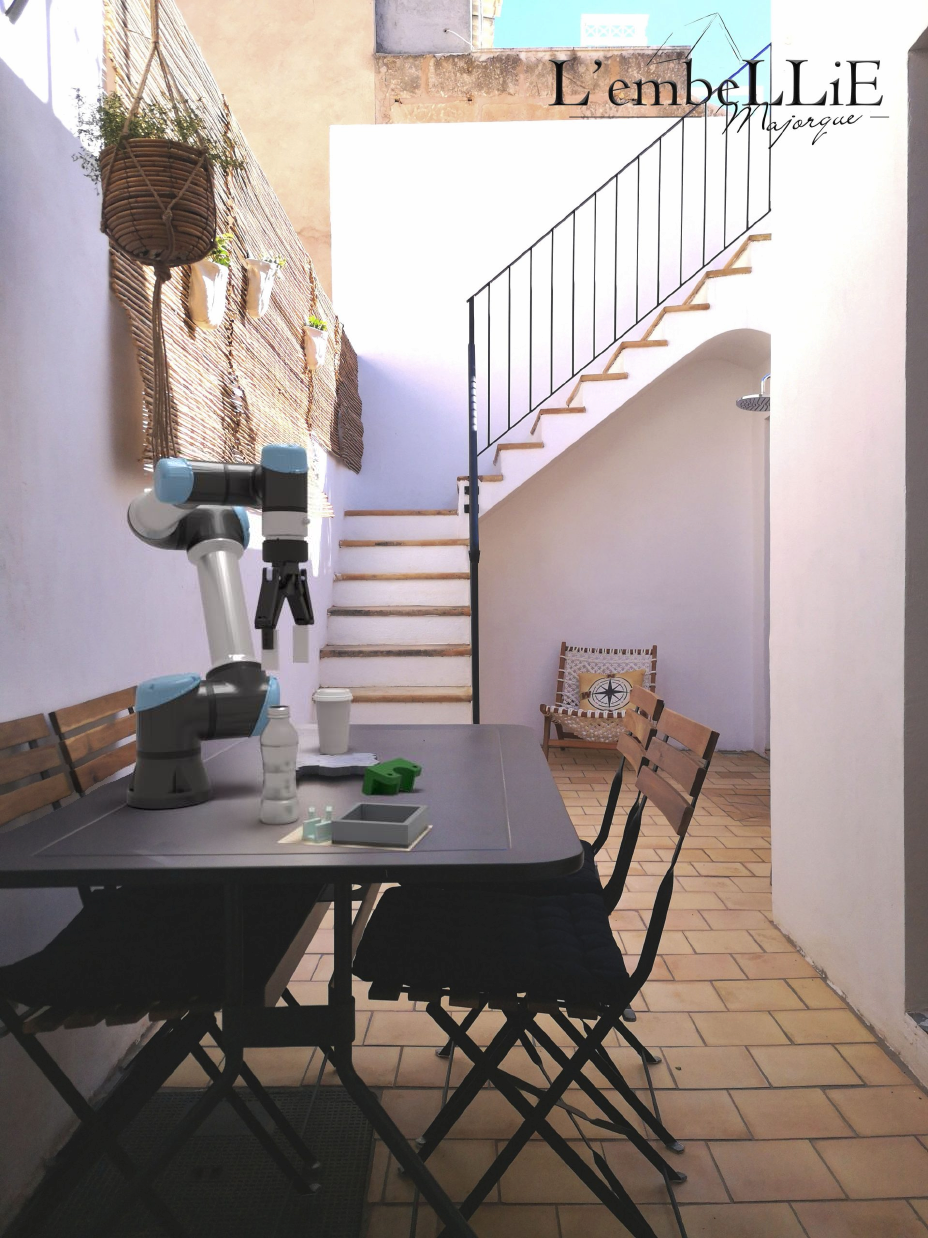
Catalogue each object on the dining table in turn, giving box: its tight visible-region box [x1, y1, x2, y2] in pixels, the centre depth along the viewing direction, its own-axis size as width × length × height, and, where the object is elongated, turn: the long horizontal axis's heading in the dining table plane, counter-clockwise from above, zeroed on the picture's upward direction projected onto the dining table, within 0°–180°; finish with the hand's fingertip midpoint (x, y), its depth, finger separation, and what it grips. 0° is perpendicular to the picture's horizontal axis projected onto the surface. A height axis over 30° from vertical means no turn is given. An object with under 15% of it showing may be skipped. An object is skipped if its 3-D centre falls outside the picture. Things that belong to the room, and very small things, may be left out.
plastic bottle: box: [259, 704, 301, 826], centre depth 148 cm, size 6×7×20 cm
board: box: [276, 824, 433, 852], centre depth 139 cm, size 21×14×1 cm, turn 78°
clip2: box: [302, 817, 332, 844], centre depth 136 cm, size 4×3×3 cm
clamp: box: [361, 757, 423, 796], centre depth 171 cm, size 12×6×9 cm, turn 142°
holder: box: [331, 801, 429, 848], centre depth 138 cm, size 12×12×4 cm
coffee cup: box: [313, 687, 354, 755], centre depth 214 cm, size 10×10×15 cm
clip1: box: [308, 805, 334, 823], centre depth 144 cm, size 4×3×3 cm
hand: (286, 666), depth 148 cm, fingers open, 13 cm apart
